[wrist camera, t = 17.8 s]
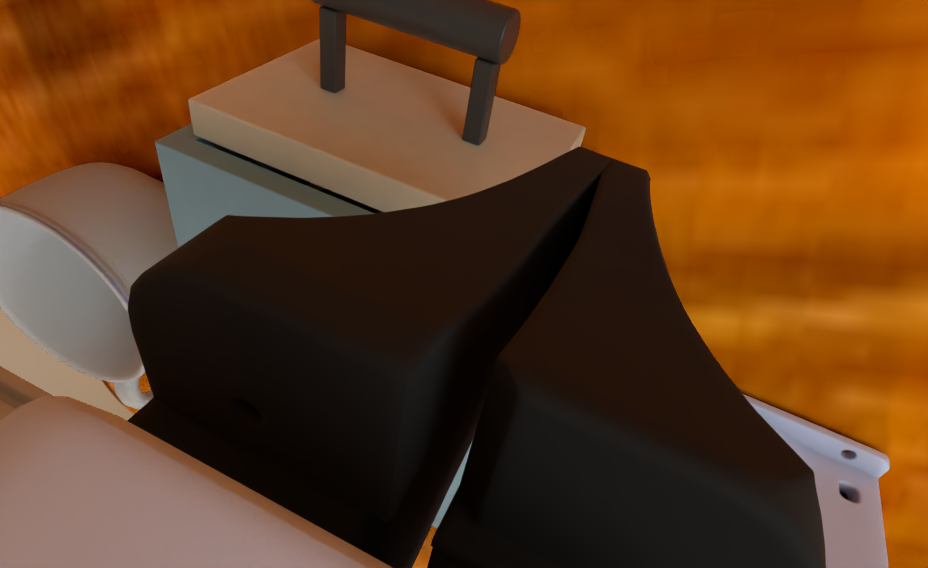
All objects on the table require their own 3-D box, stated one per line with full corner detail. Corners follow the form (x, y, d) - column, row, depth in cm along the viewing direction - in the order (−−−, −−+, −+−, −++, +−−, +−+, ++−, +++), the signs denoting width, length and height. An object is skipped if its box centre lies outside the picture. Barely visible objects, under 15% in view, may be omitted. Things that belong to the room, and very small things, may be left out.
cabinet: (323, 55, 23) (153, 140, 17) (599, 152, 21) (516, 292, 15) (325, 299, 32) (214, 411, 26) (518, 386, 30) (445, 533, 24)
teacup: (69, 124, 33) (-84, 188, 27) (219, 157, 29) (79, 239, 24) (154, 312, 41) (51, 391, 36) (278, 355, 38) (186, 451, 32)
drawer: (321, -85, 19) (160, -52, 14) (626, 4, 17) (557, 79, 12) (324, 282, 30) (233, 371, 25) (510, 365, 28) (449, 480, 23)
